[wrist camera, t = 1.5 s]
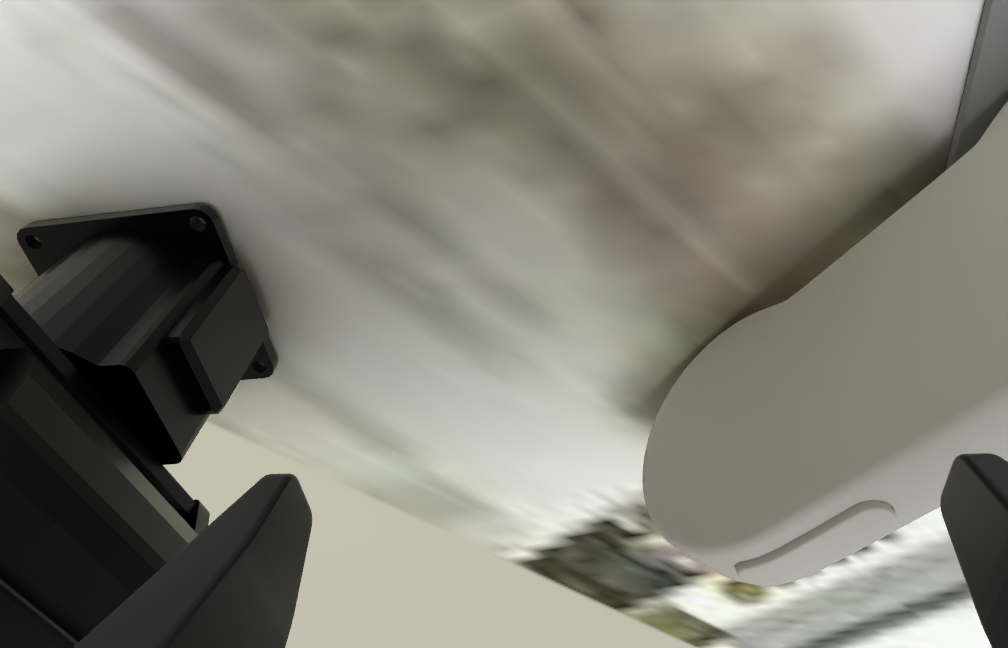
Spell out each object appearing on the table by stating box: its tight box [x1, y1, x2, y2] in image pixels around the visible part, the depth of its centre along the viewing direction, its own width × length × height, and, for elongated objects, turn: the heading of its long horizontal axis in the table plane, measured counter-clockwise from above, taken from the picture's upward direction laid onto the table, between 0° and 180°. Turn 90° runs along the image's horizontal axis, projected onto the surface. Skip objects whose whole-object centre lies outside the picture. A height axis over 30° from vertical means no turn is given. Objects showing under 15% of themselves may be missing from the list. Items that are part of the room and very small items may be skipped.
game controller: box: [643, 101, 1008, 587], centre depth 16 cm, size 20×2×8 cm, turn 144°
